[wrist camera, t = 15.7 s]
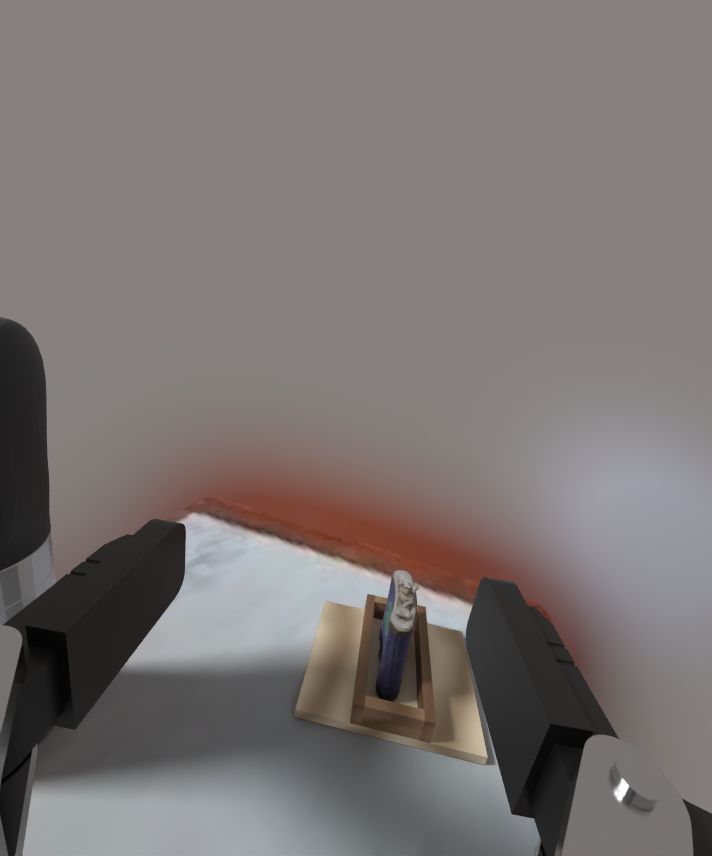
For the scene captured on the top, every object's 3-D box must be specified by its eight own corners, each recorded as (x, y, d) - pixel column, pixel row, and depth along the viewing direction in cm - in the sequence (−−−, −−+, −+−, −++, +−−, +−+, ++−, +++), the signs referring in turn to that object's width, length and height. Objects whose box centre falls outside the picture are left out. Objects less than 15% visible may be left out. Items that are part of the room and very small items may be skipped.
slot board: (294, 717, 34) (298, 689, 33) (324, 606, 47) (327, 585, 46) (484, 765, 32) (495, 738, 31) (460, 637, 46) (466, 616, 45)
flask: (379, 626, 44) (396, 553, 41) (402, 632, 44) (421, 559, 41) (372, 700, 35) (392, 614, 32) (401, 708, 35) (424, 622, 32)
